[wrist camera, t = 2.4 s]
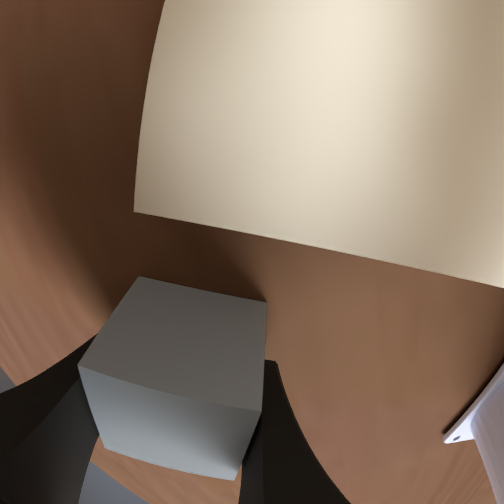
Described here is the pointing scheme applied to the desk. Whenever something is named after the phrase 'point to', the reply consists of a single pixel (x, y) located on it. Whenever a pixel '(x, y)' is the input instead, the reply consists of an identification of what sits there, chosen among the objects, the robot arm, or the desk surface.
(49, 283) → the desk surface
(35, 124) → the desk surface
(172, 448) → the slate cube
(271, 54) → the birch block
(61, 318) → the desk surface
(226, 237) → the desk surface
